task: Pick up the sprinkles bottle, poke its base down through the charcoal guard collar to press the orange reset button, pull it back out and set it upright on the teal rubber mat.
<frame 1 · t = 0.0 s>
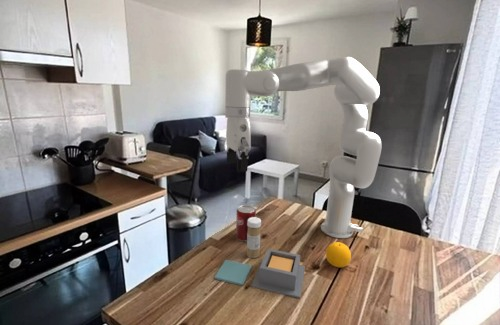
hand: (236, 167, 85), 31 cm above the table, tool pointing down, fingers open, 9 cm apart
teal mat: (233, 272, 83), on the table
soda can: (245, 237, 103), on the table
sprinkles bottle: (252, 255, 92), on the table
reset button: (280, 266, 81), point 4 cm above the table, slide at 0.0 cm
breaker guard: (279, 276, 82), on the table
orange citrus fruit: (337, 264, 89), on the table
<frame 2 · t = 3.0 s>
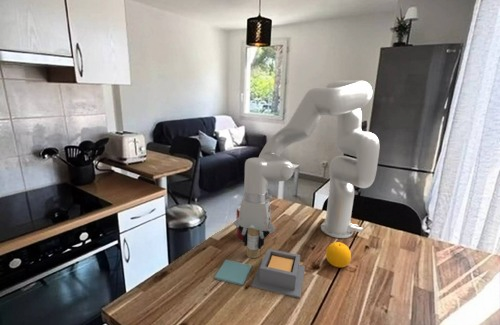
hand: (253, 244, 91), 4 cm above the table, tool pointing down, fingers closed on sprinkles bottle, 4 cm apart
sprinkles bottle: (252, 255, 92), on the table, touching gripper
everything else where it was.
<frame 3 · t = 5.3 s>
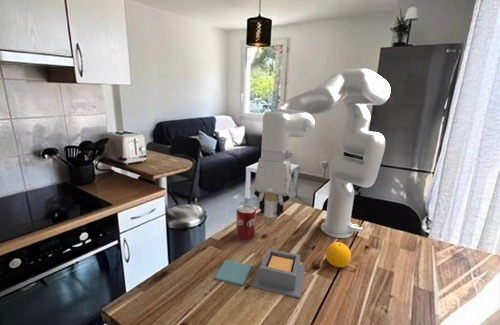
hand: (271, 212, 81), 19 cm above the table, tool pointing down, fingers closed on sprinkles bottle, 4 cm apart
sprinkles bottle: (270, 224, 82), point 15 cm above the table, touching gripper
everything else where it was.
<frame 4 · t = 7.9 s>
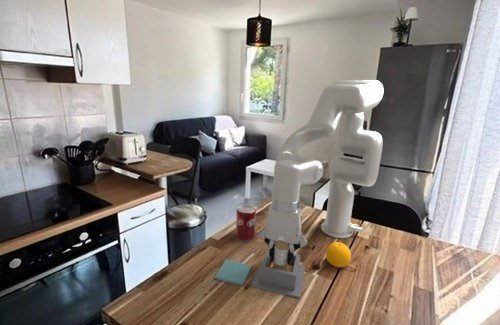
hand: (281, 259, 80), 6 cm above the table, tool pointing down, fingers closed on sprinkles bottle, 4 cm apart
sprinkles bottle: (280, 271, 81), point 2 cm above the table, touching gripper, reset button
reset button: (280, 272, 81), point 2 cm above the table, slide at 2.2 cm, touching sprinkles bottle
everything else where it was.
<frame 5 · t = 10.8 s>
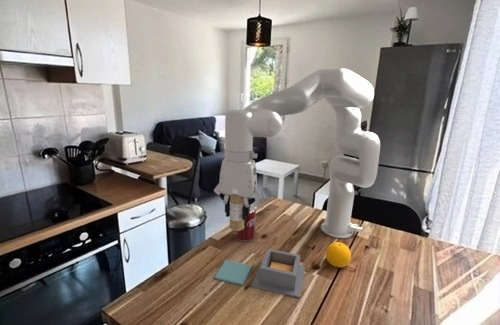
hand: (237, 215, 78), 19 cm above the table, tool pointing down, fingers closed on sprinkles bottle, 4 cm apart
sprinkles bottle: (236, 228, 79), point 15 cm above the table, touching gripper
reset button: (280, 272, 81), point 2 cm above the table, slide at 2.2 cm
everything else where it was.
when the fingers open (6 cm above the table, at t = 13.8 s): sprinkles bottle drops 1 cm, resting on teal mat.
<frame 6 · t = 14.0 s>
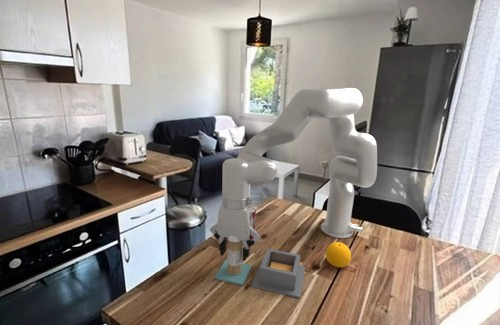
hand: (234, 255, 81), 6 cm above the table, tool pointing down, fingers open, 6 cm apart
sprinkles bottle: (234, 271, 83), resting on teal mat
everything else where it was.
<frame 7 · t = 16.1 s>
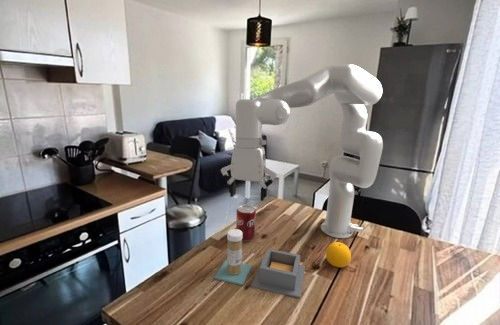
hand: (247, 197, 82), 23 cm above the table, tool pointing down, fingers open, 9 cm apart
nothing on the table moved.
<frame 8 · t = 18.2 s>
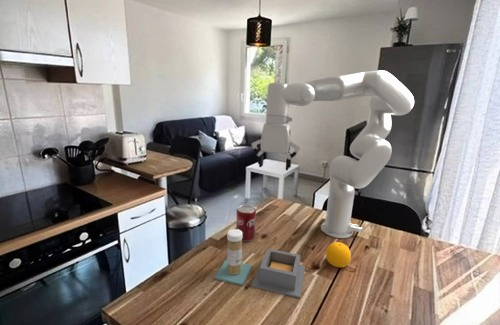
hand: (274, 167, 96), 28 cm above the table, tool pointing down, fingers open, 9 cm apart
nothing on the table moved.
at the end: reset button slide at 2.2 cm; sprinkles bottle inside the target area on the teal mat (0.1 cm from its centre), point 0.4 cm above the teal mat's base; sprinkles bottle tilted 0° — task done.
